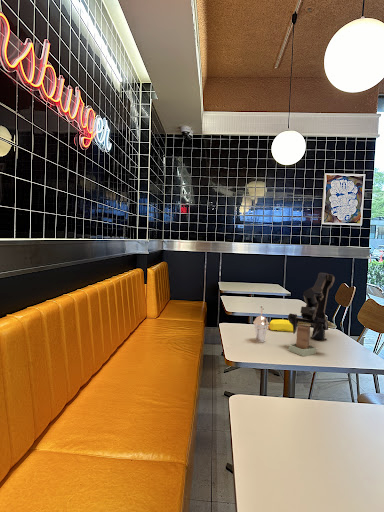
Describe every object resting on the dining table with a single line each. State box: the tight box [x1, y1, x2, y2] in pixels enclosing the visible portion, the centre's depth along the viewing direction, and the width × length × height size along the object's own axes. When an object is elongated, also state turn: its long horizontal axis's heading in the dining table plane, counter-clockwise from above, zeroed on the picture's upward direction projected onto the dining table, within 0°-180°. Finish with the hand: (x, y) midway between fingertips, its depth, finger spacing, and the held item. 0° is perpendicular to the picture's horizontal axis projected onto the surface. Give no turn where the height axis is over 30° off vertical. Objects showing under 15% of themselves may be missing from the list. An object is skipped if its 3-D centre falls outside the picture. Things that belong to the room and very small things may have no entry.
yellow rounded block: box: [267, 319, 297, 333], centre depth 213 cm, size 18×7×8 cm
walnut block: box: [295, 324, 311, 350], centre depth 171 cm, size 5×5×13 cm
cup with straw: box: [252, 306, 270, 343], centre depth 186 cm, size 8×9×20 cm
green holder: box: [288, 343, 317, 357], centre depth 171 cm, size 9×9×3 cm
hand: (303, 335), depth 171 cm, fingers open, 9 cm apart
